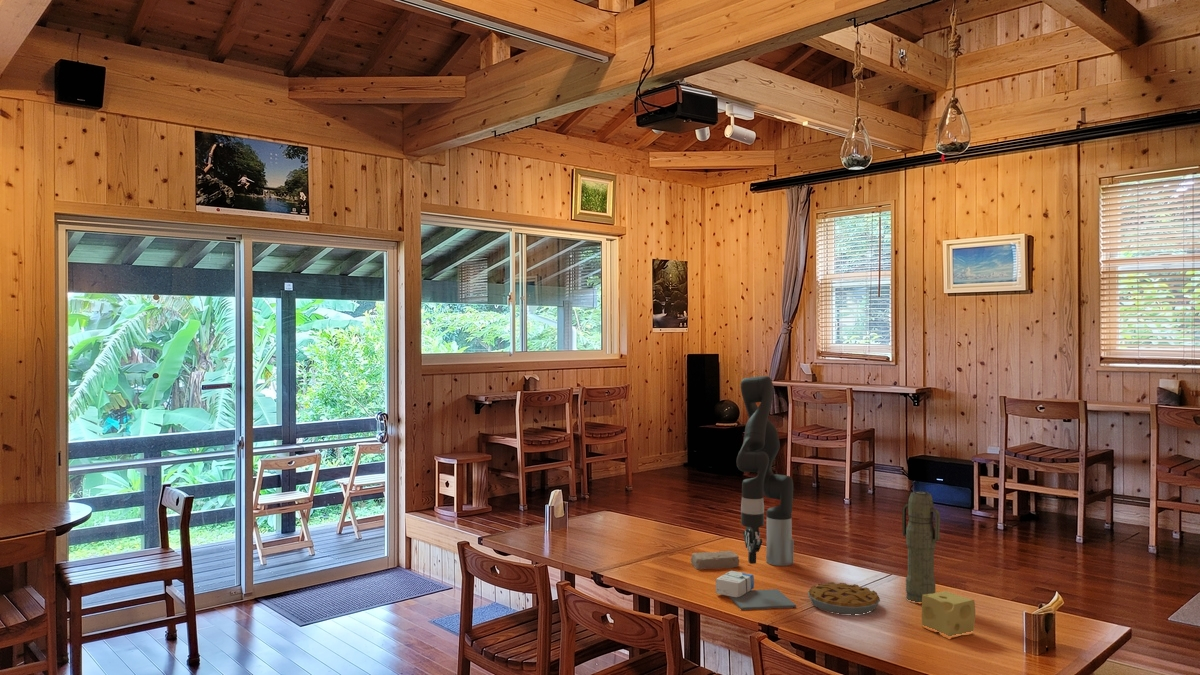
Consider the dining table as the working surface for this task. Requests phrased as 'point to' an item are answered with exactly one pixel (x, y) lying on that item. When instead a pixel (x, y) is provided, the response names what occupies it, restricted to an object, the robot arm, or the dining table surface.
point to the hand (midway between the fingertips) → (752, 562)
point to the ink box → (734, 584)
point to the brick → (714, 560)
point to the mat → (762, 600)
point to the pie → (843, 598)
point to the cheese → (948, 613)
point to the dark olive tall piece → (920, 544)
